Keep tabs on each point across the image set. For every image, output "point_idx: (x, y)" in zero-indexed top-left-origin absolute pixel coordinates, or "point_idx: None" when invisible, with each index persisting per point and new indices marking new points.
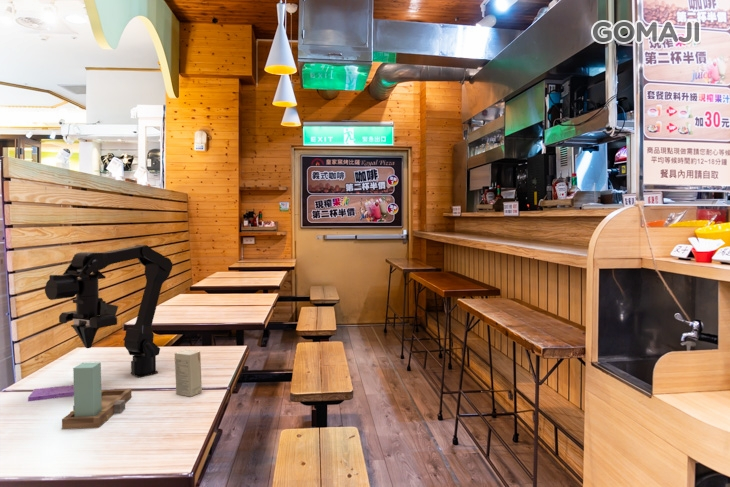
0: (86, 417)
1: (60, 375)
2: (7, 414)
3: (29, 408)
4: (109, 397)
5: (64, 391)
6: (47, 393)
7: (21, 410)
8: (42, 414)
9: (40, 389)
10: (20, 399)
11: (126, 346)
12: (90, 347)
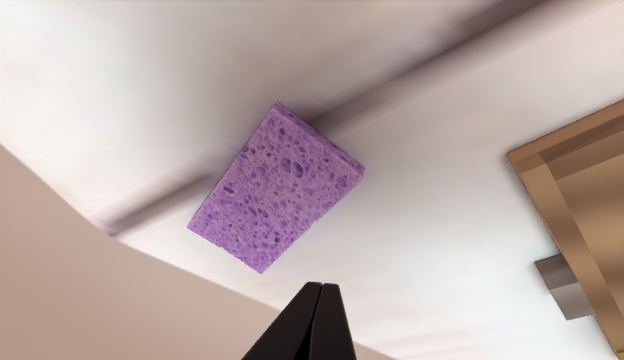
0: None
1: (7, 49)
2: None
3: None
4: (608, 172)
5: (310, 202)
6: (273, 234)
7: None
8: (430, 309)
9: (207, 221)
10: (227, 262)
11: None
12: (337, 288)
